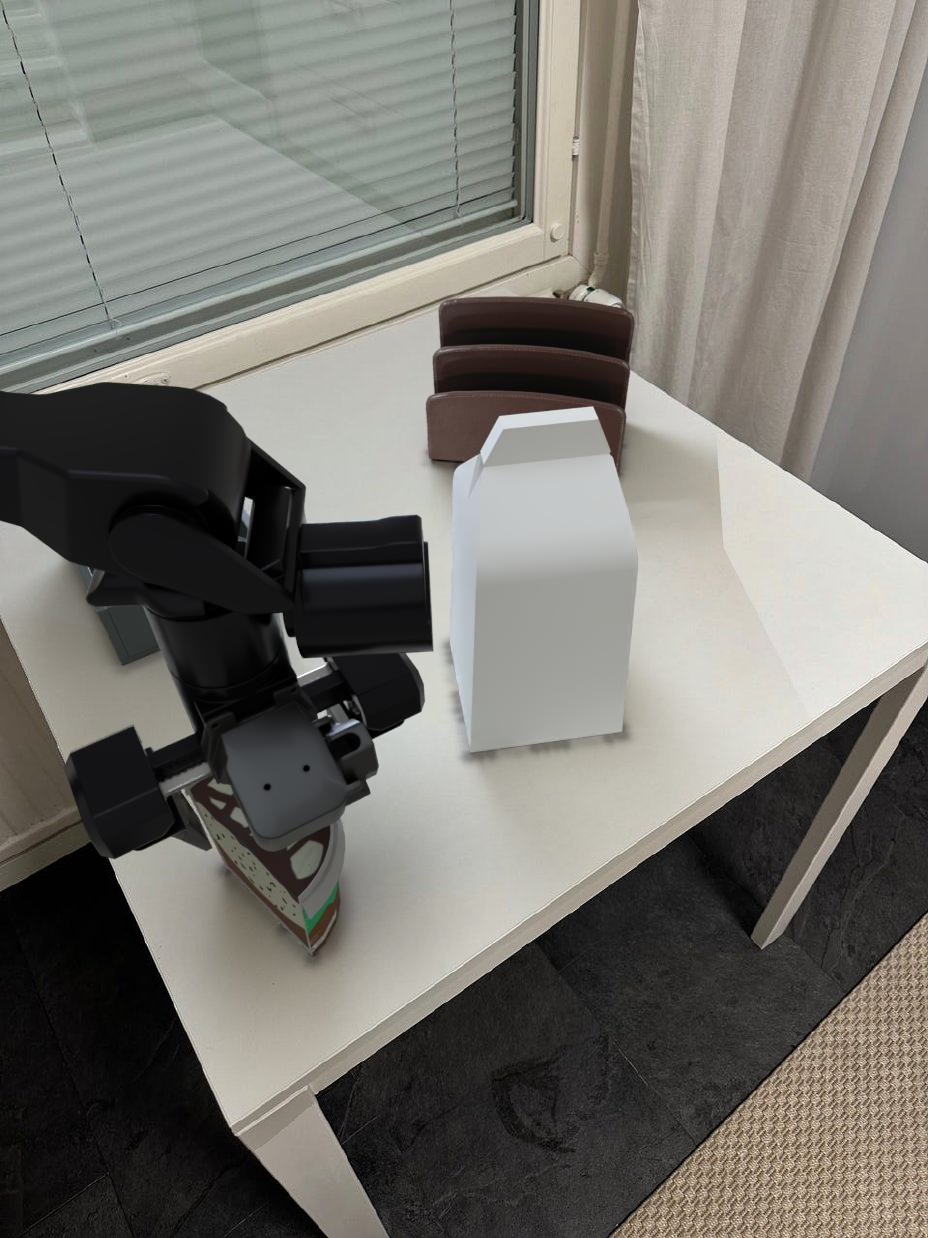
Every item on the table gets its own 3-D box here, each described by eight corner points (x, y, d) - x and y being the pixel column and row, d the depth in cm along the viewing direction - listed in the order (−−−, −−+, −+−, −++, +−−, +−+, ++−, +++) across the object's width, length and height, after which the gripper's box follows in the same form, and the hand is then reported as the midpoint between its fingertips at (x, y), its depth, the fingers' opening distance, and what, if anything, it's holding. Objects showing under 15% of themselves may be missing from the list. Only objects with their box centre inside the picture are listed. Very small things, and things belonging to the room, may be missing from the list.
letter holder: (443, 406, 100) (438, 287, 89) (621, 419, 98) (638, 298, 87) (427, 461, 93) (420, 339, 83) (618, 476, 91) (636, 353, 80)
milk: (470, 752, 69) (464, 488, 49) (449, 641, 76) (437, 375, 57) (621, 732, 70) (674, 465, 50) (586, 624, 77) (620, 357, 58)
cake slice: (396, 905, 60) (384, 831, 53) (328, 972, 57) (304, 904, 50) (281, 798, 66) (255, 718, 59) (213, 854, 63) (177, 777, 56)
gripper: (73, 865, 35) (173, 1005, 47) (474, 674, 42) (475, 839, 53) (13, 678, 42) (114, 841, 53) (367, 538, 48) (389, 710, 60)
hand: (278, 808), depth 55 cm, fingers open, 9 cm apart
